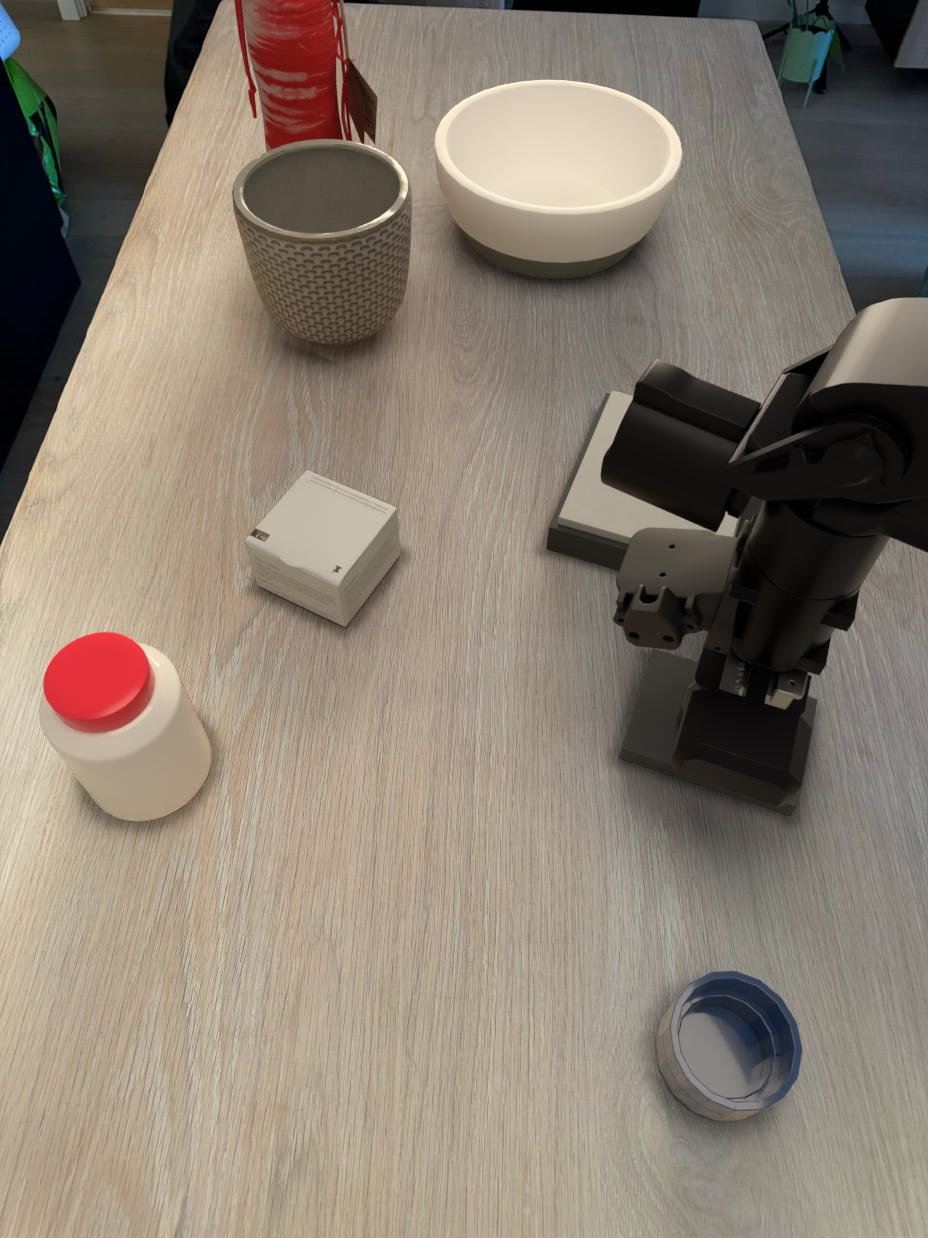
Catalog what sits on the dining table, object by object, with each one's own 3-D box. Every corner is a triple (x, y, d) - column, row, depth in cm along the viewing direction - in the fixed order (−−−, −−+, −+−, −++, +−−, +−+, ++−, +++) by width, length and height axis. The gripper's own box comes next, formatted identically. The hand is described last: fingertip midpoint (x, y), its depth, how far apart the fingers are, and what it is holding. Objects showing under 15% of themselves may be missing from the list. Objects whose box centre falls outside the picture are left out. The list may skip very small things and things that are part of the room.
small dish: (785, 1017, 52) (811, 998, 48) (763, 1142, 48) (789, 1132, 44) (670, 974, 53) (687, 952, 49) (641, 1093, 49) (657, 1079, 46)
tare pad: (811, 709, 62) (826, 686, 60) (790, 816, 58) (805, 796, 56) (649, 658, 64) (657, 634, 62) (617, 758, 60) (625, 736, 58)
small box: (404, 553, 69) (400, 507, 65) (345, 631, 65) (338, 587, 61) (315, 513, 71) (306, 465, 67) (253, 586, 67) (240, 541, 63)
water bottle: (394, 193, 95) (379, -105, 74) (382, 240, 91) (363, -62, 70) (276, 184, 96) (229, -113, 75) (259, 231, 91) (203, -71, 71)
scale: (797, 467, 75) (810, 437, 72) (761, 613, 67) (775, 585, 64) (601, 415, 78) (607, 384, 75) (545, 548, 70) (549, 519, 67)
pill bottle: (85, 832, 57) (16, 751, 48) (87, 721, 61) (24, 626, 52) (215, 808, 58) (171, 724, 49) (208, 700, 62) (166, 604, 53)
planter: (393, 388, 79) (384, 251, 68) (235, 362, 81) (203, 224, 70) (432, 287, 87) (430, 149, 76) (287, 265, 88) (265, 127, 78)
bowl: (605, 328, 84) (619, 244, 77) (390, 249, 90) (385, 164, 83) (700, 202, 95) (720, 118, 88) (503, 139, 101) (507, 56, 94)
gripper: (688, 386, 52) (641, 560, 65) (593, 654, 42) (559, 796, 55) (895, 439, 50) (804, 608, 63) (846, 734, 40) (749, 863, 53)
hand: (729, 708), depth 59 cm, fingers closed, pressing on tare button
